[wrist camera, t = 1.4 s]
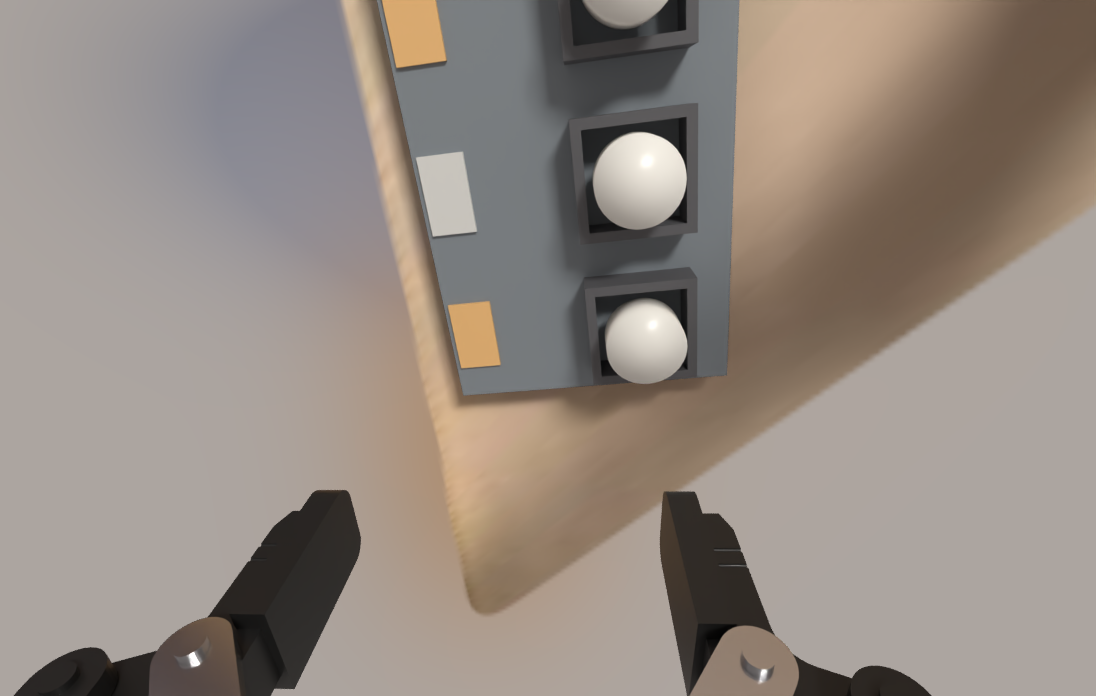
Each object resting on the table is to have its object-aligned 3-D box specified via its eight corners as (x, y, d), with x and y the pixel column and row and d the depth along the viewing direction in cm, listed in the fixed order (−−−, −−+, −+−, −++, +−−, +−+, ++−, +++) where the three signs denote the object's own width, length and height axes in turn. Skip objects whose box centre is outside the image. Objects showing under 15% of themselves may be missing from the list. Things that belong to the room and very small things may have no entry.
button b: (678, 126, 23) (686, 127, 21) (679, 216, 24) (686, 224, 23) (589, 137, 23) (589, 139, 21) (596, 225, 25) (597, 234, 23)
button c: (679, 294, 26) (687, 308, 24) (680, 363, 28) (687, 380, 26) (602, 301, 26) (603, 315, 25) (607, 369, 28) (609, 386, 26)
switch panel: (730, -138, 22) (760, -188, 18) (718, 360, 32) (736, 392, 28) (374, -76, 23) (336, -110, 20) (469, 380, 33) (456, 412, 30)
